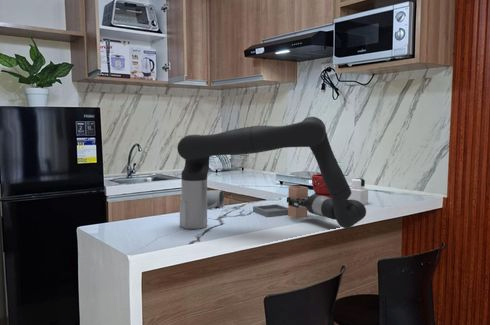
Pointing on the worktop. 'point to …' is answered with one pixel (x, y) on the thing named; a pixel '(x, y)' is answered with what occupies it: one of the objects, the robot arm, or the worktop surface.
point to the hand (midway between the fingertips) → (296, 198)
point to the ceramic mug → (215, 199)
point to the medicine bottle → (359, 191)
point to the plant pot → (320, 186)
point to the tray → (271, 210)
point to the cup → (299, 193)
